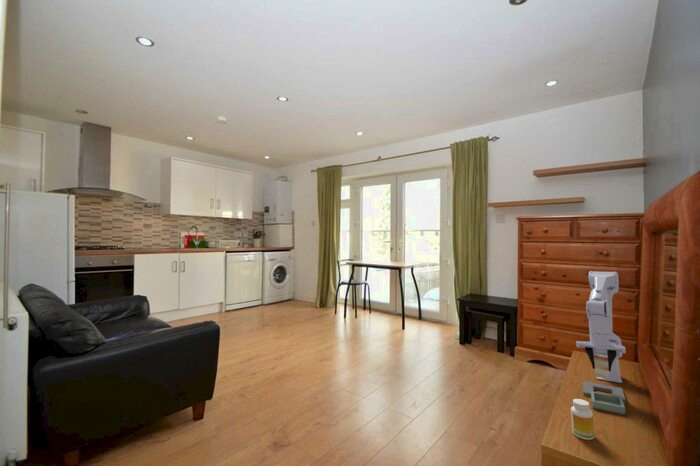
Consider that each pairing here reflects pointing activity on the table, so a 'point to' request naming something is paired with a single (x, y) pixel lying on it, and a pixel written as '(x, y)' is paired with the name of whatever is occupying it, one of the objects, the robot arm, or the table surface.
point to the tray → (607, 403)
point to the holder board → (602, 389)
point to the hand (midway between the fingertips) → (601, 369)
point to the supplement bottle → (582, 420)
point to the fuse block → (601, 366)
